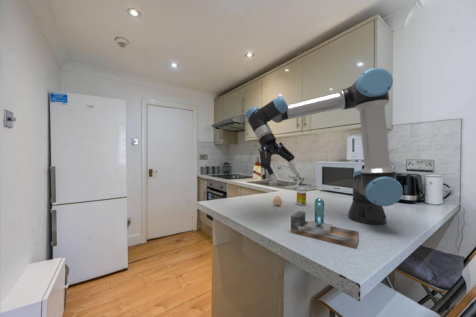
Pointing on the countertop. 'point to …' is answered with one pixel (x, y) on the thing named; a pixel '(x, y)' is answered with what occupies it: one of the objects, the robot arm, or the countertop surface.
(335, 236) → the press base
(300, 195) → the supplement bottle
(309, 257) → the countertop surface
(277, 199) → the egg
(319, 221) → the sliding jaw
